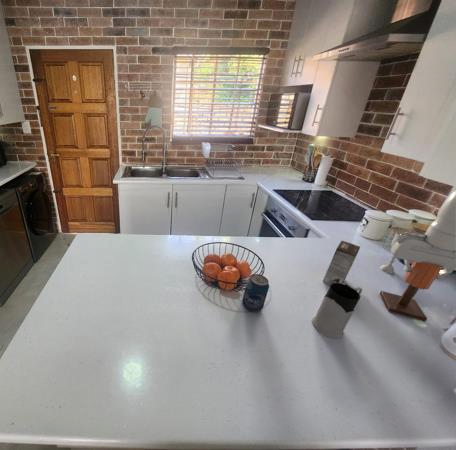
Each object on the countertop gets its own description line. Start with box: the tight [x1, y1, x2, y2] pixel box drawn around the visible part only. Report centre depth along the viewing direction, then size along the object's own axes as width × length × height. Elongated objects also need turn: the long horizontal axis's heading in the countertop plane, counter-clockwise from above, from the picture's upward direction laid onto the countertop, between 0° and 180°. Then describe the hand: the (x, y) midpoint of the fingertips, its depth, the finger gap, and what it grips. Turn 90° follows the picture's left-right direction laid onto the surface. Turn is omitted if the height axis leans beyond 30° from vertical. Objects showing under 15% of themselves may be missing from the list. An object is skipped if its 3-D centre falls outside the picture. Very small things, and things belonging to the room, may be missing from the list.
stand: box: [379, 284, 428, 322], centre depth 86 cm, size 10×10×16 cm
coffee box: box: [322, 240, 361, 286], centre depth 98 cm, size 9×6×16 cm
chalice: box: [379, 229, 408, 275], centre depth 105 cm, size 7×7×18 cm
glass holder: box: [311, 283, 363, 339], centre depth 78 cm, size 9×14×15 cm, turn 113°
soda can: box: [241, 273, 270, 314], centre depth 84 cm, size 7×7×12 cm
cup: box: [402, 261, 444, 290], centre depth 82 cm, size 6×6×9 cm
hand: (421, 274), depth 83 cm, fingers closed on cup, 6 cm apart
